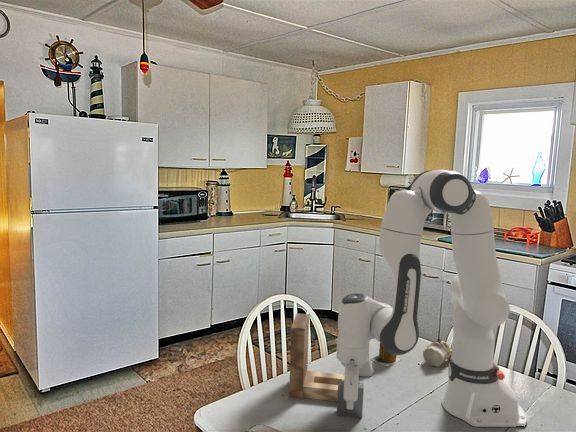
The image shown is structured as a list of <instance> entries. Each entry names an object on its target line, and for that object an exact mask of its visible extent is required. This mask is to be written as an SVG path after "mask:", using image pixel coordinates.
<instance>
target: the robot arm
mask: <svg viewBox="0 0 576 432" xmlns="http://www.w3.org/2000/svg"><path fill="white" fill-rule="evenodd" d="M432 211H439V212H444V213H447V215H448V217H449V221H450V234H451V235H450V237H451V248H452V259H453V262H454V265H455V268H456V272H457V274H456V275H455V276H454V277H453V278H452V279H451V281H450V287H449V288H450V296H451V317H452V330H453V331H452V332H453V333H452V335H453V336H452V345H451V346H452V348H451V351H452V356H451V358H450V360H449V363H448V369H447V370H448V373H447V375H448V381H447V386H446V389H445V393H444V395H443V398H442V400H441V404H442V408H444V410H445V411H446V412H448V413H449V414H450V415H453V416H454V417H456V418H458V419H460V420H463V421H464V422H465V423H468V424H469V425H470V426H473V427H477V428H479V427H480V428H481V427H482V428H483V427H485V428H486V427H487V428H488V427H489V428H490V427H491V428H492V427H494V428H495V427H497V428H498V427H503V428H504V427H505V428H506V427H508V428H509V427H510V428H513V427H516V426H524V427H526V426H525V425H527V424H528V423H527V422H528V420H527V419H528V417H527V414H526V412H525V411H524V409H523V408H522V407H521V405H520V404H519V401H518V397H517V396H516V395H517V394H516V393H515V392H514V390H513V389H512V388H511V387H510V385H508V384H507V383H506V382H504V381H503V380H505V379H506V376H505V373H504V372H503V371H502V370H500V368H499V367H498V366H497V365H496V364H495V363H494V355H495V344H496V340H495V339H496V338H495V335H494V330H493V328H497V327H499V326H501V325H503V324H504V323H505V322H506V321H507V320H508V318H509V315H510V312H511V309H510V304H509V302H508V299H507V296H506V293H505V290H504V284H503V280H502V279H503V278H502V276H501V272H500V269H499V264H498V263H499V262H498V259H497V252H496V242H495V241H496V240H495V239H496V238H495V229H494V220H493V219H494V218H493V213H492V210H491V205H490V201H489V198H488V196H487V195H486V194H485V193H484V192H481V191H479V190H475V189H474V188H473V187H472V184H471V183H470V181H469V179H468V178H467V177H466V176H464V175H463V174H462V173H460V172H457V171H454V170H447V169H435V170H424V171H423V172H420V173H419V174H417V176H415V177H414V179H413V180H412V181H411V183H410V185H409V186H407V188H406V189H402V190H397V191H395V192H393V194H391V196H390V197H389V200H388V202H387V205H386V207H385V210H384V214H383V217H382V221H381V225H380V231H379V235H378V236H379V238H378V239H379V240H378V248H379V252H380V255H381V256H382V258H383V259H384V260H385V262H386V263H387V264H388V267H389V268H390V270H391V272H392V274H393V278H394V291H393V292H394V293H393V303H392V306H391V305H390V304H388V303H386V302H381V301H377V300H375V299H374V298H371V297H370V296H369V295H367V294H365V293H361V292H356V293H355V292H354V293H350V294H346V295H345V296H344V297H343V298H342V300H341V301H340V304H339V309H338V318H337V328H338V336H337V339H336V354H335V355H336V359H337V361H339V362H340V364H341V365H342V366H343V367H344V374H343V375H344V395H343V397H344V400H346V401H347V409H351V410H352V409H353V404H354V401H357V398H358V383H359V378H360V377H359V368H361V367H362V366H363V365H364V363H366V362H367V361H368V359H369V357H370V354H369V353H370V346H369V345H370V341H371V340H372V339H373V340H376V341H378V342H379V344H380V343H381V344H382V346H383V347H384V348H385V349H386V350H387V352H389V353H390V354H392V355H396V356H403V355H406V354H409V353H410V352H411V351H412V350H413V349H414V348H415V347H416V346H417V344H418V342H419V339H420V328H419V324H418V311H419V299H420V290H421V279H422V265H421V241H422V237H423V231H424V224H425V222H426V220H427V217H428V216H429V214H430V213H431V212H432ZM526 423H527V424H526Z"/></svg>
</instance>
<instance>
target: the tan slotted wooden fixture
mask: <svg viewBox="0 0 576 432" xmlns="http://www.w3.org/2000/svg"><path fill="white" fill-rule="evenodd" d="M309 331H310V314H309V313H298V312H297V313H296V314H295V317H294V319H293V322H292V325H291V328H290V355H289V357H290V358H289V385H288V386H289V388H288V398H289V399H297V400H303V399H313V400H321V401H322V400H323V401H329V402H330V401H331V402H337V399H338V382H339V381H344V375H345V374H341V373H334V372H333V373H332V372H319V371H311V370H308V362H309V361H308V359H309V358H308V356H309V334H310V332H309Z"/></svg>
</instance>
